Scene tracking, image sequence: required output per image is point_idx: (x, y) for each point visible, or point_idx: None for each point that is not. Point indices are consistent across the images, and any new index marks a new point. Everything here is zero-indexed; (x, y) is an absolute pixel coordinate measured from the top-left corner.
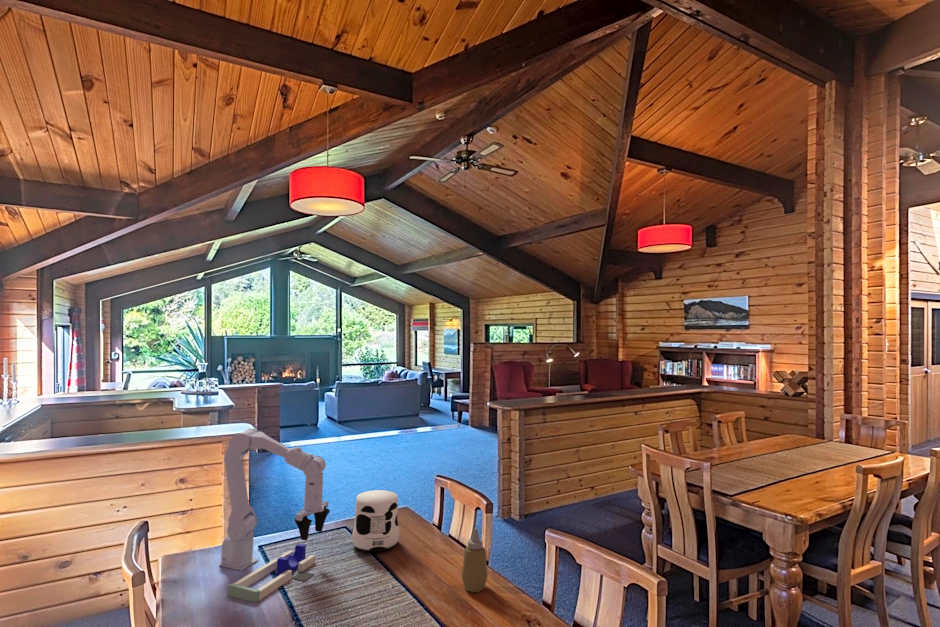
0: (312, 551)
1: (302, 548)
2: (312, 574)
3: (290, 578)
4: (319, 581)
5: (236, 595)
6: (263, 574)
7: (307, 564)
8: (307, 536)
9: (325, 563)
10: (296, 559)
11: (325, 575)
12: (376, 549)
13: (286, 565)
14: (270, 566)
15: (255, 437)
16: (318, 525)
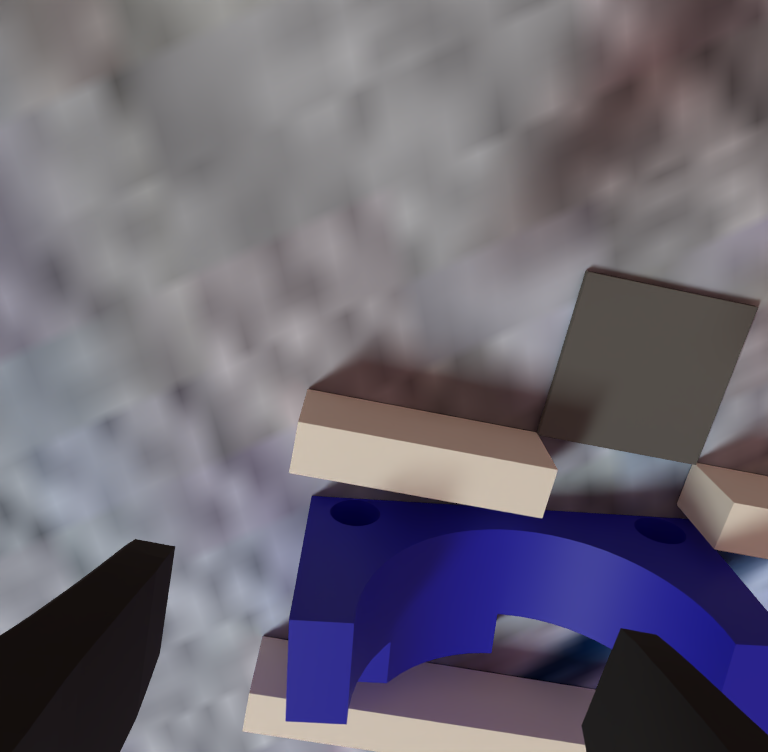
0: (50, 531)
1: (356, 615)
2: (602, 289)
3: (709, 469)
4: (743, 140)
5: None
6: None
7: (447, 429)
8: (687, 674)
9: (292, 266)
10: (421, 579)
11: (591, 132)
12: None
13: (736, 594)
14: None
15: None
16: (109, 707)
